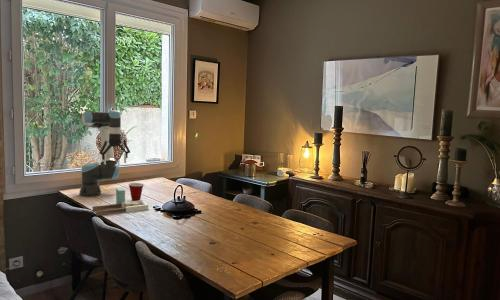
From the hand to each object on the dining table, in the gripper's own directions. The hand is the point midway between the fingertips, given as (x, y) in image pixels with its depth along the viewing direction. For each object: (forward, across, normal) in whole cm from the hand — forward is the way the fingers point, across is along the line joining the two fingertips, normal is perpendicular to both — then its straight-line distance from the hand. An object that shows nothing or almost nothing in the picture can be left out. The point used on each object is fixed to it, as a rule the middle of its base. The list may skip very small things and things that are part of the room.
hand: (115, 163), depth 265 cm
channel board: (+27, -9, -21) cm, 35 cm away
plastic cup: (+28, +14, -2) cm, 31 cm away
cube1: (+27, +3, -21) cm, 34 cm away
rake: (+27, +1, -10) cm, 29 cm away
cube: (+27, +7, -23) cm, 36 cm away
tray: (+27, +7, -22) cm, 35 cm away
